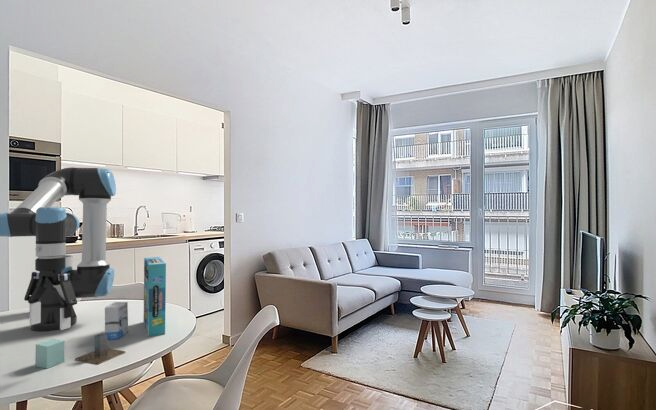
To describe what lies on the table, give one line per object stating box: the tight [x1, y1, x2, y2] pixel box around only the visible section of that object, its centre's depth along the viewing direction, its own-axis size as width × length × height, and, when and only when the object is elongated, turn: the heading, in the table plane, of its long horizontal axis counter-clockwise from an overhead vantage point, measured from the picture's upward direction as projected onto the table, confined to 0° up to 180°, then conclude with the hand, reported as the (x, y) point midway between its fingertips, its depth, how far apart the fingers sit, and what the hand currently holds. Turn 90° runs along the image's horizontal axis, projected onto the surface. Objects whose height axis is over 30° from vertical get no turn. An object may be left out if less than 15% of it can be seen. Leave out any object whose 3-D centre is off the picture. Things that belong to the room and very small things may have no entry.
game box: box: [143, 256, 167, 337], centre depth 151 cm, size 20×6×27 cm, turn 30°
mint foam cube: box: [34, 338, 65, 369], centre depth 117 cm, size 5×5×7 cm
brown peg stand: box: [74, 332, 127, 365], centre depth 123 cm, size 10×10×7 cm
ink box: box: [104, 301, 129, 340], centre depth 142 cm, size 9×5×12 cm, turn 5°
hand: (49, 326), depth 116 cm, fingers open, 13 cm apart
